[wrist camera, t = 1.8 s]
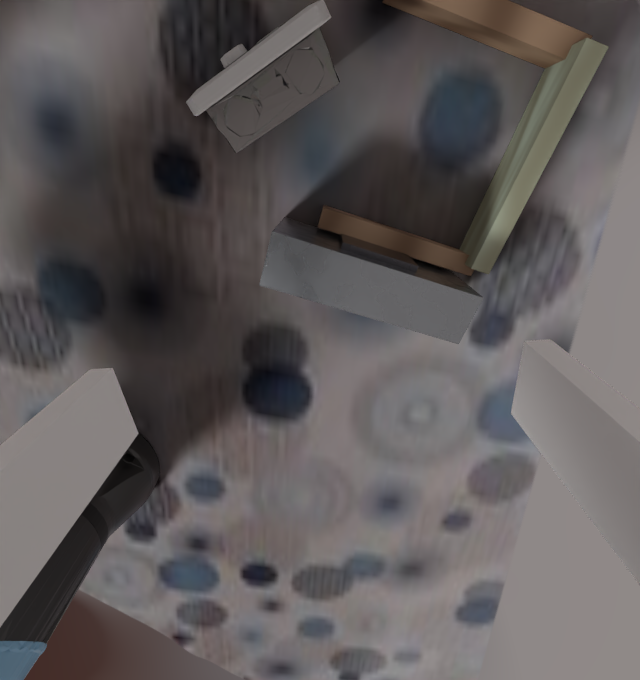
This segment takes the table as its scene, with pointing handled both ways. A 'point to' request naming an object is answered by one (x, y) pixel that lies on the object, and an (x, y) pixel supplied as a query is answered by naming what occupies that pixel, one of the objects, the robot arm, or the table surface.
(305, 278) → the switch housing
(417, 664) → the table surface
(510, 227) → the bay
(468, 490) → the table surface
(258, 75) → the electrical switch
